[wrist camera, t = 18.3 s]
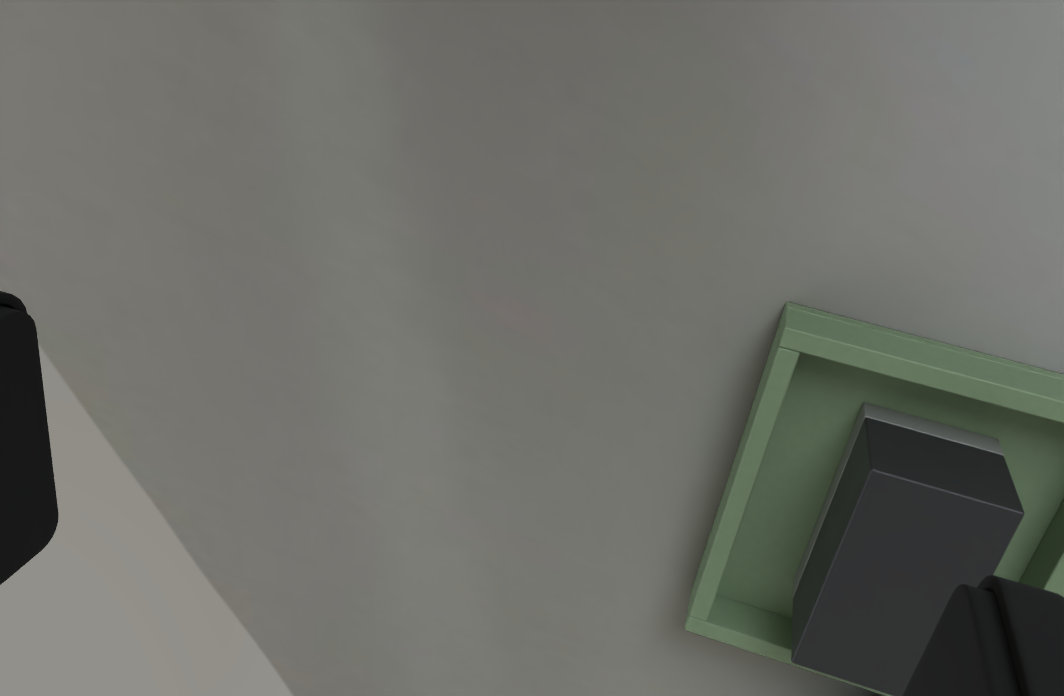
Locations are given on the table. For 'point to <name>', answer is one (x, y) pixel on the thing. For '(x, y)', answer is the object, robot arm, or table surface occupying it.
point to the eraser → (898, 545)
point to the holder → (819, 442)
